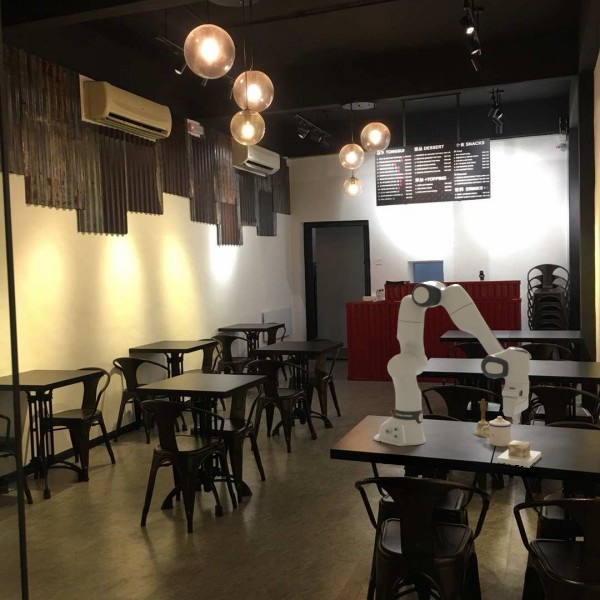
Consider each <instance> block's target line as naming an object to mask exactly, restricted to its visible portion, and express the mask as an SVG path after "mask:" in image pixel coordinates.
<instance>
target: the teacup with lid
mask: <svg viewBox="0 0 600 600" xmlns="http://www.w3.org/2000/svg"><path fill="white" fill-rule="evenodd" d="M511 426H512V423H511V422H510V421H508V420H505V419H504V418H503V416H501V415H499V416H497V418H494V419H493V420H490V421H488V426H484V427H483V428H482V434H483V435H484V436H483V437H485V438H488V439H489V441H488V443H489V444H490V445H492V446H495V447H508V444H509V443H510V442H512V440H511V437H512V436H511ZM484 428H489V436H487V435H485V434H484V432H483V429H484Z"/></svg>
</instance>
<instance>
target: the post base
mask: <svg viewBox="0 0 600 600" xmlns="http://www.w3.org/2000/svg"><path fill="white" fill-rule="evenodd" d="M540 457H541V458H542V451H538V450H537V451H535V450H531V449H530V454H529V455H528V456H527V457H526V458H522V457H515V456H509V455H508V449H506V450H505V451H504V452H502V453H501V454H500V455H498V456H497V459H496V461H497V462H496V463H498V464H503V463H505V464H504V465H509V464H510V465H509V466H515V465H519V466H518V467H521V466H523V467H522V468H529V469H530V468H531V467H532V466H533V465H534V464H535V463H537V461H538V460H539V459H541V458H540ZM534 462H535V463H534ZM533 463H534V464H533ZM532 464H533V465H532ZM531 465H532V466H531ZM530 466H531V467H530Z"/></svg>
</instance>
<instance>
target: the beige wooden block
mask: <svg viewBox="0 0 600 600" xmlns="http://www.w3.org/2000/svg"><path fill="white" fill-rule="evenodd" d="M507 450H508V455H509V456H515V457H522V458H526V457H527V456H528V455H529V454H530V450H531V442H529V441H521V440H514V439H513V440H511V442H510V443H509V444H508V446H507Z"/></svg>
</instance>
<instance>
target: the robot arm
mask: <svg viewBox="0 0 600 600" xmlns="http://www.w3.org/2000/svg"><path fill="white" fill-rule="evenodd" d="M438 306H439V307H440V306H442V307H443V308H444V309H445V310H446V312H447V313H448V316H449V318H450V319H451V320H452V322H453V324H454V325H455V326H456V327H457V328H458V329H459V330H460V331H462V332H466V333H467V334H471V335H473V336H474V337H475V338H477V340H478V341H479V343H480V344H481V346H482V347H483V349H484V350H485V352H486V353H487V354H488V355H486V356H485V357H484V358H483V359H482V360H481V363H480V370H481V372H482V374H483V375H484V376H485V377H487V378H489V379H502V378H503V379H504V380H505V381H504V382H505V383H504V387H503V389H502V391H501V395H502V397H503V398H502V408H503V409H502V410H503V415H504V416H505V417H509V418H511V419H512V424H513V425H518V424H520V418H521V414H522V412H523V411H525V410H527V409H528V407H529V394H530V380H529V374H530V367H531V366H530V355H529V352H528V351H527V350H526V349H524V348H522V347H518V346H509V347H508V348H507V349H505V348H504V346H502V344H501V343H500V340H499V339H498V338H497V337H496V335H495V334H494V332H493V331H492V329H491V328H490V327H489V325H488V324H487V323H486V321H485V319H484V317H483V316H482V314H481V312H480V311H479V309H478V307H477V306H476V304H475V302H474V300H473V299H472V298H471V296H470V295H469V294H468V292H467V291H466V289H464V288H463V286H462V285H460V284H458V283H457V284H456V283H455V284H450V285H449V286H448V284H447V283H445V282H443V281H440V280H427V281H422V282H419V283H417V284H416V285H415V286H414V287H413V289H412V290H411V294H408V295H406V296H404V297H403V298H402V299H401V301H400V306H399V309H398V317H397V319H398V320H397V331H396V332H397V334H396V339H397V341H398V342H399V346H400V353H399V354H396V355H394V356H393V357H392V358H390V359H389V361H388V363H387V367H386V368H387V372H388V374H389V376H390V377H391V379H392V383H393V386H394V393H395V408H393V409H392V410H390V414H391V415H392V416H391V417H390V418H388V419H387V420H385V421H383V423H381V424H380V427H379V429H378V430H379V432H378V433H377V434H376V435H375V436H374V437H373V441H376V442H377V441H378V442H380V441H381V443H384V444H389V445H392V446H393V445H394V446H398V447H405V446H417V445H422V444H425V443H426V437H425V434H424V428H423V427H424V426H423V421H424V420H423V419H424V417H423V415H424V414H423V408H422V391H421V389H420V388H419V384H418V381H417V380H418V379H417V376H418V375H421V374H422V373H423V372H424V371H425V370H426V368H427V367H428V357H427V356H426V354H425V346H424V330H425V329H424V328H425V315H426V314H425V313H426V311H427V309H428V308H435V307H438Z"/></svg>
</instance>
